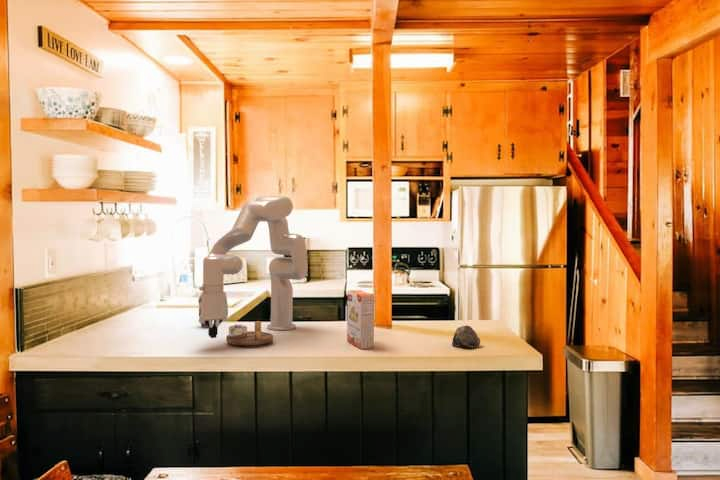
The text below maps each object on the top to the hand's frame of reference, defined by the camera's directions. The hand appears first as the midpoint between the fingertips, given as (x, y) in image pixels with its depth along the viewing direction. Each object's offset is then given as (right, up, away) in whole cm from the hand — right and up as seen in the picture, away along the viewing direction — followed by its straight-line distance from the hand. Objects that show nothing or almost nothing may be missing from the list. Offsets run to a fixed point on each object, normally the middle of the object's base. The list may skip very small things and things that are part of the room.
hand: (212, 337), depth 220 cm
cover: (+8, -1, +6) cm, 10 cm away
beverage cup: (-13, -2, +39) cm, 41 cm away
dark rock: (+98, -6, +9) cm, 98 cm away
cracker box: (+56, -5, +9) cm, 57 cm away
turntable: (+12, -3, +8) cm, 15 cm away
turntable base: (+12, -4, +8) cm, 15 cm away
